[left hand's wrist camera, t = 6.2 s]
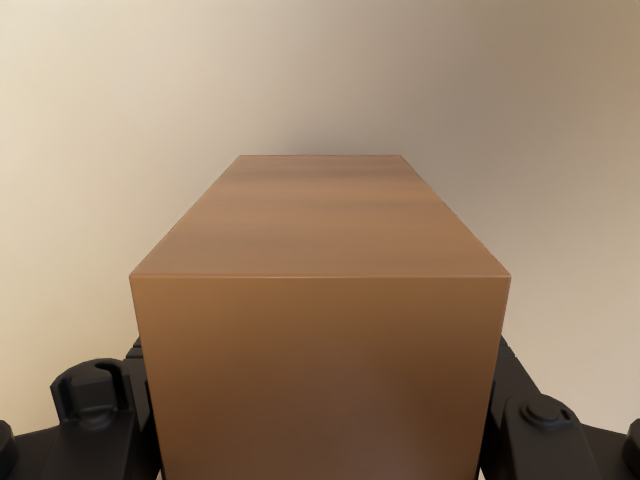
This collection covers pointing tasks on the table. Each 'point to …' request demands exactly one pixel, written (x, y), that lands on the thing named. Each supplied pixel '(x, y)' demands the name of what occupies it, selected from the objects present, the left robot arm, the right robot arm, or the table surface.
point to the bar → (320, 326)
